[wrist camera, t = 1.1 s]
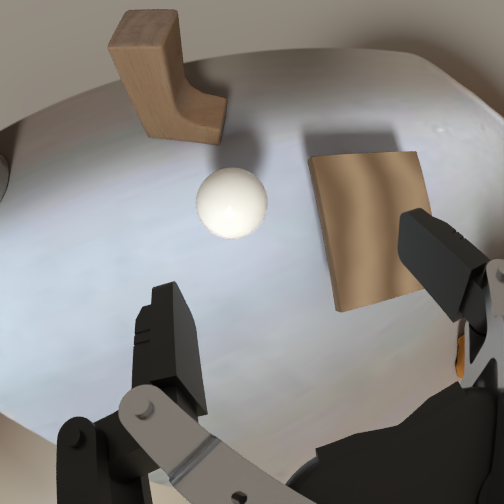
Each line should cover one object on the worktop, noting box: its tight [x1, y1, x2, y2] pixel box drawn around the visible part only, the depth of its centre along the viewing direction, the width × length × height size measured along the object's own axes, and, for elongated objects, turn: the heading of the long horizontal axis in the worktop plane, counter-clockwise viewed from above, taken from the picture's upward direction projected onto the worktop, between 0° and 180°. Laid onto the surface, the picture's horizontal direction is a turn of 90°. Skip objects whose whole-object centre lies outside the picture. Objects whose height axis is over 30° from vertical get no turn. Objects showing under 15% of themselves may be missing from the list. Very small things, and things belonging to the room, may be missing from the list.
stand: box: [308, 151, 432, 312], centre depth 34 cm, size 14×16×6 cm
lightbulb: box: [196, 167, 268, 239], centre depth 30 cm, size 6×6×11 cm
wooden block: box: [108, 9, 227, 145], centre depth 26 cm, size 9×4×18 cm, turn 82°
